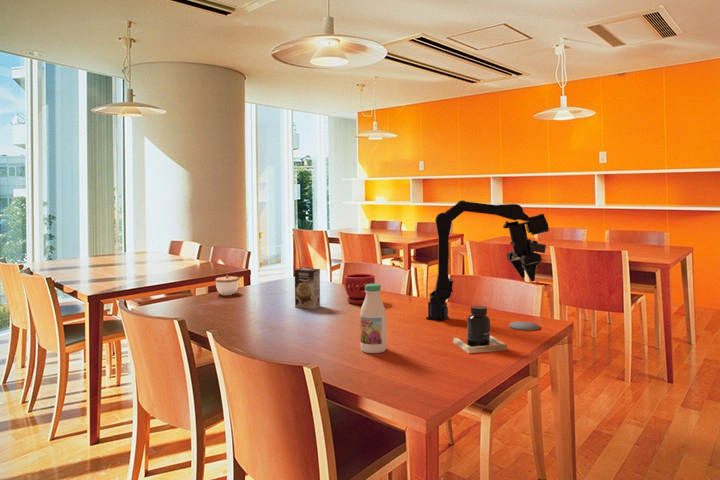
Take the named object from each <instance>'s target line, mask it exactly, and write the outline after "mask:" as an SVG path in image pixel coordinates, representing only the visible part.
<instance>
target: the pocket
mask: <svg viewBox="0 0 720 480" xmlns="http://www.w3.org/2000/svg"><path fill="white" fill-rule="evenodd" d="M452 343H453V344H454V345H456V346H458V347H459V349H462V350H463V351H464V352H466V353H467V354H479V353H488V352H499V351H508V345H507V344H505V343H504V342H503V341H501V340H500V339H498V338H496V337H495V336H492V335H491V334H490V345H486V346H475V347H470V346H468V344H467V342H466V343H465V342H464V341H463V340H461V339H460V338H458V337H452Z"/></svg>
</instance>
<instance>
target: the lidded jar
mask: <svg viewBox="0 0 720 480" xmlns="http://www.w3.org/2000/svg"><path fill="white" fill-rule="evenodd" d="M215 287H216V290H217V292H218V293H219V294H220V295H221V296H232V294H233V295H235V293H236V292H237V290H238V288H239V277H238V276H232V275H231V276H229V274H226V275H225V276H220V277H219V276H218V277H217V278H215Z"/></svg>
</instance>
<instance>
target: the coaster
mask: <svg viewBox="0 0 720 480" xmlns="http://www.w3.org/2000/svg"><path fill="white" fill-rule="evenodd" d="M508 327H509V328H510V329H513V330H516V331H522V330H524V331H523V332H532V331H531V330H534V331H537V329H538V330H540V325H539V324H537V323H536V322H535V323H534V322H530V321H512V322H510V323H509V324H508Z"/></svg>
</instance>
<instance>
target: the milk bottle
mask: <svg viewBox="0 0 720 480" xmlns="http://www.w3.org/2000/svg"><path fill="white" fill-rule="evenodd" d="M364 285H365V284H364ZM381 287H382V286H381V284H379V283H375V284H372V283H371V284H366V285H365V292H366V297H365V300H364V303H363V304H361V308H360V316H359V317H360V329H359V330H360V350H361V351H362V352H363V353H366V354H380V353H384V352H385V351H386V349H387V317H386V316H387V315H386V313H387V312H386V308H385V305H384V302H383V301H382V298H381V289H382V288H381Z"/></svg>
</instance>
